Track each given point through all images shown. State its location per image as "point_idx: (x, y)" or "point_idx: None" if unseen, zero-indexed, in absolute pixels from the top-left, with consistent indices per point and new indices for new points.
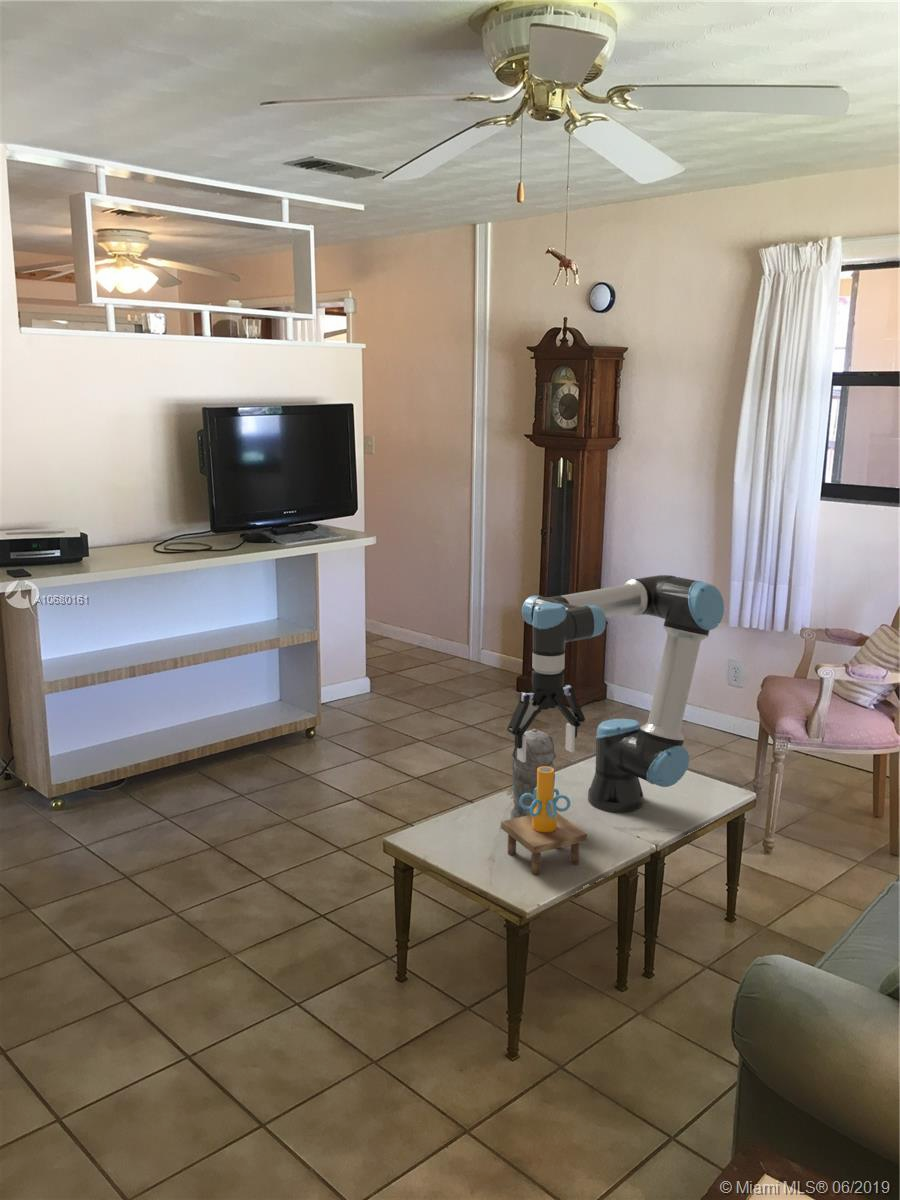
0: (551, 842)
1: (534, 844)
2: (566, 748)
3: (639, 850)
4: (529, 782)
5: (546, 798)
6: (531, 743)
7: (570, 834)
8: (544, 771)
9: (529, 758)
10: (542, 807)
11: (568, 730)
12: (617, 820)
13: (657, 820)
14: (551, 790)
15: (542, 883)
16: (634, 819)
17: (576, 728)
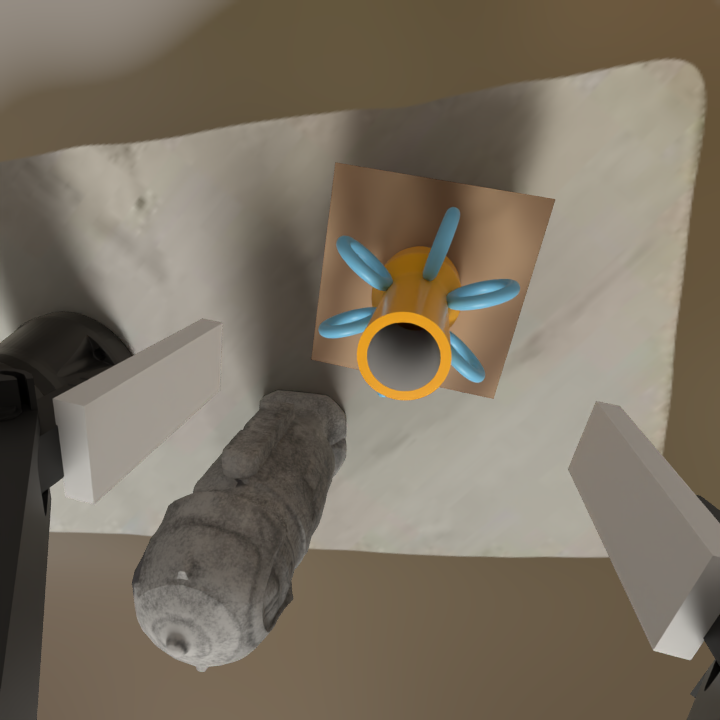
0: (480, 187)
1: (538, 213)
2: (216, 382)
3: (182, 140)
4: (302, 481)
5: (433, 287)
6: (239, 592)
7: (384, 194)
8: (386, 374)
9: (276, 542)
10: (444, 290)
11: (129, 436)
12: (134, 301)
13: (48, 239)
14: (407, 288)
15: (532, 159)
16: (95, 279)
17: (50, 399)
